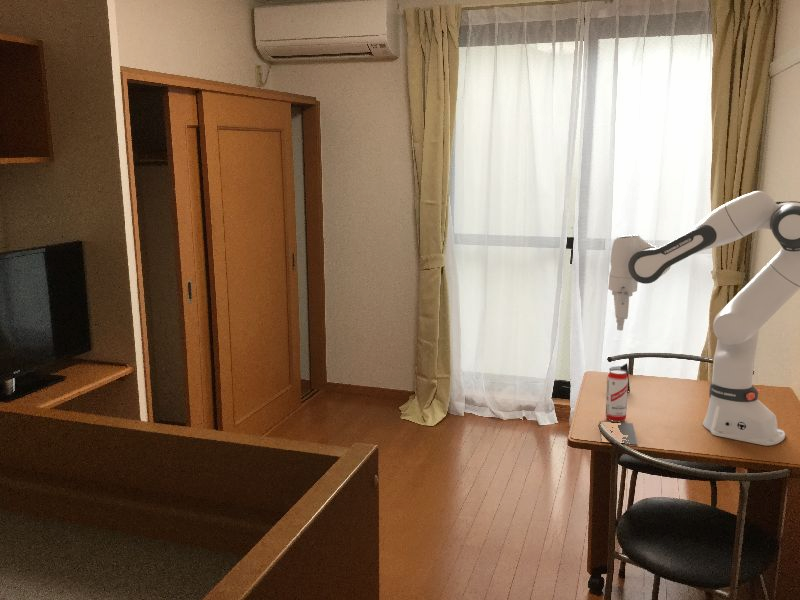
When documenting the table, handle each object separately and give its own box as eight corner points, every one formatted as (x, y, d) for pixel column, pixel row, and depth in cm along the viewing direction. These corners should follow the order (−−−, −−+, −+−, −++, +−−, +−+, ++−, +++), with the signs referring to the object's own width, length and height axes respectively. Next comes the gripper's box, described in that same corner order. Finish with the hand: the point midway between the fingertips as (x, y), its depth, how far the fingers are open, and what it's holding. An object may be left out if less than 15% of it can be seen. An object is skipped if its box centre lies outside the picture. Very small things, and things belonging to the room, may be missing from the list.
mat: (599, 421, 219) (599, 420, 219) (632, 424, 217) (632, 423, 217) (601, 442, 203) (601, 441, 203) (637, 445, 201) (637, 444, 201)
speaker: (635, 391, 247) (633, 363, 246) (624, 395, 244) (622, 367, 243) (618, 388, 253) (617, 360, 252) (607, 391, 251) (605, 363, 249)
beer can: (603, 415, 225) (605, 368, 222) (622, 415, 224) (625, 368, 221) (608, 422, 219) (610, 374, 215) (628, 422, 218) (630, 374, 215)
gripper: (634, 291, 211) (630, 335, 214) (631, 279, 230) (628, 320, 233) (613, 290, 212) (609, 333, 215) (612, 278, 232) (609, 318, 235)
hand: (619, 326), depth 224 cm, fingers open, 8 cm apart
